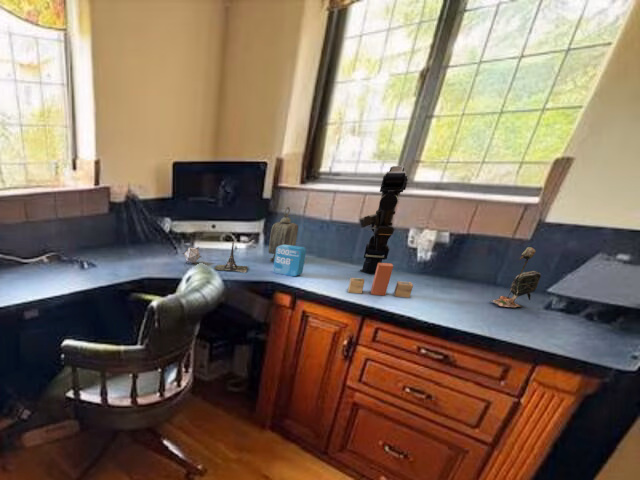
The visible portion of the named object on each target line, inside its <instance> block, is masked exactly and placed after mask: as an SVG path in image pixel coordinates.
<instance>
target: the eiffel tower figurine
mask: <svg viewBox="0 0 640 480" xmlns="http://www.w3.org/2000/svg"><path fill="white" fill-rule="evenodd" d="M234 245H235V241H232V243H231V251H230V254H229V258H228V260H227V261H226V263H225V264H216V266H214V268H213V269H214V270H219V271H228V272H230V271H233V272H238V273H239V272H240V273H244V274H245V273H247V271H248V268H249V266H247V265H237V263H236V261H235V256H234Z"/></svg>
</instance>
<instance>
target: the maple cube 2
mask: <svg viewBox="0 0 640 480" xmlns="http://www.w3.org/2000/svg"><path fill="white" fill-rule="evenodd" d="M413 288H414V284H413V283H412V281H399V280H398V281H396V284H395V288H394V292H393V294H394V297H397V298H408V299H410V297H411V294H412V291H413Z"/></svg>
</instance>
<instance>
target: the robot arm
mask: <svg viewBox="0 0 640 480" xmlns="http://www.w3.org/2000/svg"><path fill="white" fill-rule="evenodd" d="M408 181H409V177H408V174H407V172H406V171H405V166H403V165H393V166H390V168H389V170H388V171H387V172H386V173H385V174H383V176H382V180H381V184H380V189H379V193H381V194H380V196H381V197H380V200H379V202H378V203H379V204H378V209H377V210H376V211H375V213H374V214H370V215H366V216H365V215H364V216H363V217H360V218H359V225H360V228H361V229H362V228H366V227H368V226H370V229H371V231H372V233H373V235H372V236H371V237H370V238H369V242H368V243H366V246H365V249H364V253H363V259H364V262H363V266H362V268H361V269H359V271H360V272H363V273H365V274H368V275H373V274H374V275H375V272H376V268H377V265H378V263H383V260H384V261H385V260H387V259H388V256H389V252H390V248H389V244H388V243H389V240H390V238H391V237H392V236H393V235H394V231H395V228H394V227H393V219H394V216H395V215H396V208H397V205H398V202H399V196H400V195H401V193H403V192H404V191H406V189H407V185H408Z"/></svg>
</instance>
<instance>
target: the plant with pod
mask: <svg viewBox="0 0 640 480" xmlns="http://www.w3.org/2000/svg"><path fill="white" fill-rule="evenodd" d="M535 253H536V249H535V248H533V247H531V246H528V247H526V248H525V249H524V251H523V252H522V253H521V256H520V257H519V258H518V260H521V259H525V262H524V264H523V266H522V269H521V271H520V273H519V274H518V275H516V277H515V278H514V279H513V281H512V283H511V285H510V290H509V291H510V292H509V294H508V296H504V295H500V296H498V299H493V300H491V302H492V303H494V304H495V305H496V306H498V307H504V308H506V307H507V308H518V307H521V305H519V304H518V303H516V302H515V301H516V300H517V299H518V298H519V297H521V296H525V295H526V296H527V299H528V300H529V301H531V293H533V292H535V291H536V289H537V288H538V285H539V281H540V279H541V277H542V274H541V273H540V272H538V271H536V270H531V271H526V272H525V271H524V269H525V267H526V265H527V263H528V261H529V260H530V259H532V258H533V257H534V255H535ZM511 294H512V296H511V297H510V295H511Z"/></svg>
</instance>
